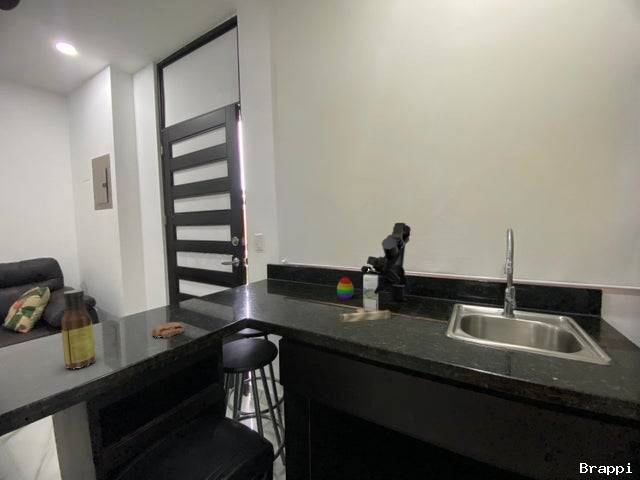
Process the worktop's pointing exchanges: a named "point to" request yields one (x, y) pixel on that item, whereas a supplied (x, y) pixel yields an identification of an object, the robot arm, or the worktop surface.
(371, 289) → the syrup box
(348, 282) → the decorative egg
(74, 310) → the sauce bottle
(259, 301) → the worktop surface
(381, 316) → the straightedge
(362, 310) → the end pad
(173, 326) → the cookie
